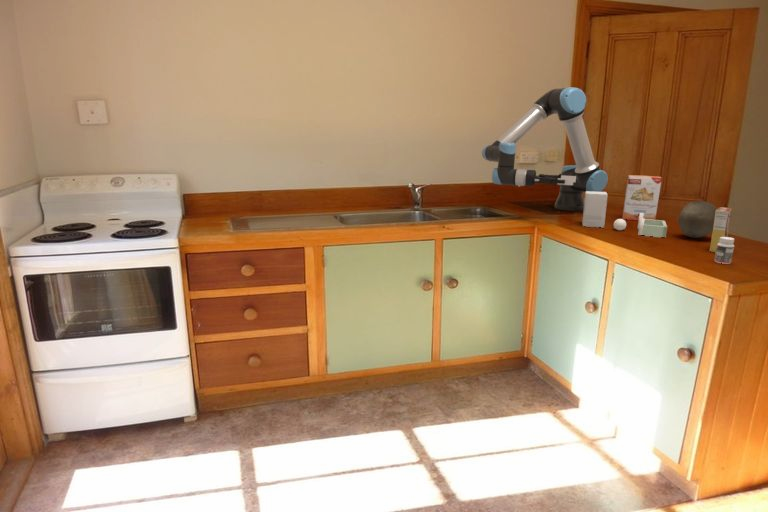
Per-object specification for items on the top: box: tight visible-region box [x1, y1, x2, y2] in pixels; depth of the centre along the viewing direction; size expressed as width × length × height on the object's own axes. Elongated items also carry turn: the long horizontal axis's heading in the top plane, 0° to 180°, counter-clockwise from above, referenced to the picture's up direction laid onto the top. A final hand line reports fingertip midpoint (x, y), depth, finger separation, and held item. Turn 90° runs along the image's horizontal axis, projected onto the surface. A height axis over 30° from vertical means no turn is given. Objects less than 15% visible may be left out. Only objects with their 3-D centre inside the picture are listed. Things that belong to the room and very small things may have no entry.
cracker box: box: [621, 174, 663, 222], centre depth 239 cm, size 14×6×21 cm, turn 68°
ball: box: [613, 218, 627, 231], centre depth 217 cm, size 5×5×5 cm
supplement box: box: [581, 191, 609, 229], centre depth 226 cm, size 9×9×15 cm
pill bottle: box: [714, 236, 735, 265], centre depth 168 cm, size 5×5×8 cm
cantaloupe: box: [678, 200, 718, 239], centre depth 202 cm, size 14×14×15 cm
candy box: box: [709, 206, 733, 253], centre depth 183 cm, size 9×4×15 cm, turn 140°
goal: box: [637, 213, 668, 239], centre depth 212 cm, size 16×10×7 cm, turn 155°
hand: (574, 180), depth 227 cm, fingers open, 13 cm apart
